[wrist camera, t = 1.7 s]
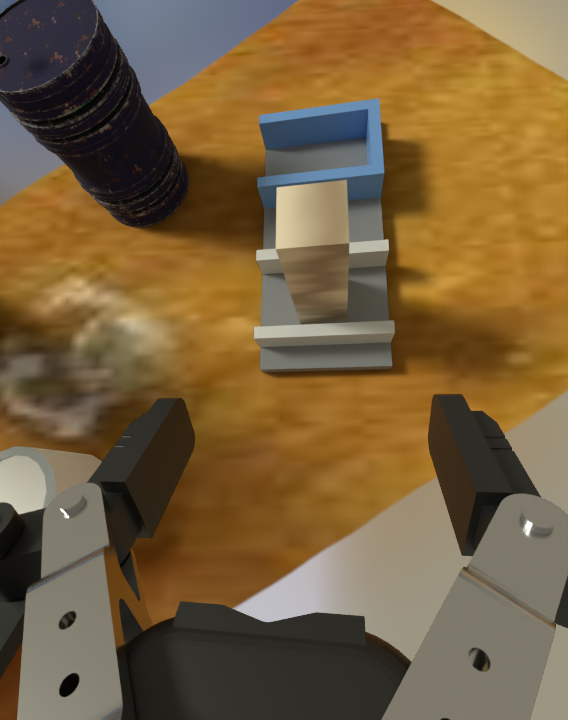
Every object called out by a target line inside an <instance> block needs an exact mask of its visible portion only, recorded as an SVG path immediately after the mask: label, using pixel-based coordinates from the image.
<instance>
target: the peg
mask: <svg viewBox="0 0 568 720" xmlns="http://www.w3.org/2000/svg"><path fill="white" fill-rule="evenodd" d="M276 252H277V255H278V258H279V261H280V264H281V267H282V270H283V273H284V276H285V279H286V282H287V285H288V288H289V291H290V294H291V297H292V300H293V303H294V306H295V309H296V312H297V315H298V318H299V321H300V324H307V323H328V322H347V304H348V273H349V220H348V196H347V180H341V181H332V182H323V183H313V184H304V185H295V186H285V187H277V198H276Z"/></svg>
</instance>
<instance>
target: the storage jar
mask: <svg viewBox="0 0 568 720" xmlns="http://www.w3.org/2000/svg"><path fill="white" fill-rule="evenodd" d="M0 101H1V102H2V103H3V104H4V105H5V106H6V107H7V108H8V109H9V111H10V112H11V114H12V115H13V117H14V118H15V119H17V121H18V122H19V123H20V124H21V125H22V126H23V127H24V128H25V129H26V130H28V131H29V132H30V133H31V134H32V135H33V136H34V138H35V139H36V140H37V141H38V142H39V143H40V144H41V145H43V146H44V147H45V148H46V149H48V150H49V151H51V152H53V153H55V154H56V155H57V156H59V158H60V159H61V160H62V161H63V162H64V163H65V164H66V165H67V166H68V167H69V168H70V169H71V170H72V171H73V173H74V175H75V177H76V179H77V180H78V182H79V183H80V185H81V186H82V187H83V189H85V190H86V191H87V192H88V193H89V194H90V195H91V196H92V197H93V198H94V199H95V200H96V201H97V202H98V203H99V204H100V205H101V206H103V207H104V208H105V209H107V210H108V211H109V212H110V214H111V215H112V216H113V217H114V218H115V219H116V220H117V221H119V222H120V223H122V224H124V225H127V226H131V227H147V226H151V225H154V224H157V223H159V222H161V221H163V220H165V219H166V218H168V217H169V216H170V215H172V214H173V213H174V212H175V211H176V210H177V209H178V207H179V206H180V205H181V204H182V202H183V200H184V198H185V196H186V194H187V191H188V186H189V177H188V172H187V169H186V167H185V166H184V164H183V162H182V161H181V159H180V157H179V155H178V152H177V149H176V147H175V145H174V143H173V142H172V140H171V138H170V136H169V135H168V131H167V130H166V128H165V126H164V125H163V124H162V123H161V121H160V120H159V119H158V118H157V117H156V116H155V115H153V113H152V111H151V110H150V108H149V106H148V104H147V103H146V101H145V99H144V97H143V95H142V94H141V88H140V85H139V82H138V80H137V77H136V74H135V72H134V70H133V69H132V67H131V66H130V65H129V63H128V60H127V58H126V56H125V54H124V53H123V51H122V49H121V47H120V45H119V44H118V42H117V40H116V39H115V38H114V37H113V36H112V34H111V32H110V30H109V29H108V27H107V25H106V24H105V23H104V21H103V18H102V16H101V14H100V12H99V10H98V9H97V7H96V5H95V3H94V2H93V0H17V1H16V2H14V3H13V4H12V5H10V6H9V7H7V8H6V9H5V10H3V12H1V13H0Z"/></svg>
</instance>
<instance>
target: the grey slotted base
mask: <svg viewBox="0 0 568 720" xmlns="http://www.w3.org/2000/svg"><path fill="white" fill-rule="evenodd" d="M259 125H260V129H261V133H262V137H263V141H264V145H265V148H266V162H265V177H258V178H257V188H258V191H259V194H260V197H261V200H262V203H263V207H264V239H263V250H257V254H256V261H257V263H258V265H259V268H260V270H261V272H262V274H263V278H262V317H261V327H254V339H255V341H256V342H257V343H258V344H259V346H260V347H261V355H260V370H261V371H262V372H302V371H340V370H379V369H391V367H392V353H391V341H392V338H393V336H394V334H395V326H394V320H391V321H389V309H388V295H387V280H386V262H387V257H388V253H389V243H388V240H384V236H383V222H382V207H381V193H382V186H383V180H384V160H383V146H382V132H381V119H380V105H379V99H372V100H365V101H357V102H350V103H343V104H336V105H329V106H322V107H315V108H308V109H301V110H293V111H286V112H279V113H272V114H265V115H259ZM341 180H347V196H348V220H349V273H348V304H347V322H328V323H307V324H300V321H299V318H298V315H297V312H296V309H295V306H294V303H293V300H292V297H291V294H290V291H289V288H288V285H287V282H286V279H285V276H284V273H283V270H282V267H281V264H280V261H279V258H278V255H277V252H276V198H277V187H285V186H295V185H304V184H313V183H323V182H332V181H341Z"/></svg>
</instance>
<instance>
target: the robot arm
mask: <svg viewBox="0 0 568 720" xmlns="http://www.w3.org/2000/svg"><path fill="white" fill-rule="evenodd" d="M194 444H195V434H194V430H193V427H192V424H191V421H190V417H189V414H188V411H187V408H186V404H185V402H184V400H183V399H182V398H160V399H158V400H157V401H156V402H155V403H154V405H153V406H152V408H151V409H150V410H149V412H148V413H144V414H142V415H141V416H140V417H139V418H137V419H136V420H135V421H133V422H132V423H131V424H130V425H129V426H128V428H127V429H126V430H125V432H124V433H123V435H122V438H120V439H119V440H118V441H117V443H116V444H115V447H113V448H112V449H111V451H110V452H109V453H108V455H107V456H106V457H105V459H104V460H103V461H102V463H101V464H100V465H99V467H98V468H97V469H96V471H95V472H94V474H93V475H92V476H91V478H90V479H89V480H88V482H87V483H82V484H78V485H75V486H72V487H70V488H68V489H66V490H65V491H63V492H62V493H60V494H59V495H58V496H56V497H55V498H54V499H53V500H52V501H51V502H50V504H49V505H48V506H47V508H43V509H39V510H35V511H31V512H27V513H23V514H18V513H17V511H16V510H15V509H14V507H13V506H12V505H11V504H9V503H5V502H1V503H0V678H1V677H2V675H3V673H4V672H5V670H6V668H7V667H8V665H9V663H10V661H11V660H12V658H13V656H14V655H15V653H16V651H17V650H18V648H19V646H20V644H21V643H22V641H23V644H22V658H21V672H20V686H19V700H18V714H17V720H530V718H531V714H532V711H533V707H534V704H535V700H536V697H537V694H538V690H539V686H540V683H541V680H542V676H543V673H544V669H545V666H546V662H547V659H548V655H549V652H550V648H551V645H552V642H553V638H554V633H555V629H556V624H558V625H561V626H563V627H566V628H568V515H567V514H566V513H565V512H564V511H563V510H562V509H561V508H559V507H558V506H556V505H555V504H553V503H552V502H550V501H548V500H546V499H543V498H541V496H540V495H539V493H538V491H537V490H536V488H535V487H534V485H533V483H532V481H531V479H530V478H529V476H528V474H527V473H526V471H525V469H524V468H523V466H522V464H521V463H520V461H519V459H518V457H517V456H516V454H515V452H514V451H512V447H511V446H510V444H509V442H508V441H507V439H505V435H504V434H503V432H502V430H501V429H500V427H499V425H498V424H497V422H495V421H494V420H493V419H492V418H490V417H489V416H488V415H487V414H485V413H484V412H483V411H471V410H470V408H469V406H468V404H467V402H466V400H465V399H464V397H463V395H462V394H435V395H434V396H433V399H432V406H431V415H430V423H429V432H428V444H429V451H430V455H431V458H432V461H433V464H434V468H435V471H436V474H437V477H438V480H439V484H440V487H441V490H442V493H443V496H444V499H445V503H446V506H447V509H448V512H449V516H450V519H451V522H452V525H453V529H454V531H455V535H456V538H457V541H458V544H459V548H460V551H461V554H462V556H473V557H472V559H471V561H470V563H469V565H468V566H467V567H463V568H462V570H461V571H460V573H459V575H458V576H457V578H456V580H455V582H454V584H453V585H452V587H451V589H450V591H449V593H448V595H447V597H446V599H445V601H444V603H443V605H442V607H441V608H440V610H439V612H438V614H437V616H436V618H435V619H434V621H433V623H432V625H431V627H430V629H429V631H428V633H427V635H426V636H425V638H424V640H423V642H422V644H421V646H420V648H419V650H418V652H417V654H416V655H415V657H414V659H413V661H412V662H411V661H410V660H409V659H408V658H407V657H406V656H404V655H403V654H402V653H401V652H400V651H399V650H397V649H396V648H394V647H393V646H392V645H390V644H389V643H387V642H386V641H384V640H382V639H380V638H379V637H377V636H375V635H372V634H370V633H367V632H365V619H364V616H354V615H341V614H329V613H312V614H307V615H302V616H297V617H293V618H288V619H283V620H279V621H274V622H263V621H260V620H258V619H255V618H253V617H250V616H248V615H246V614H243V613H241V612H239V611H236V610H234V609H231V608H229V607H227V606H224V605H218V604H206V603H194V602H181V601H180V604H179V607H178V610H177V613H176V616H175V617H173V618H170V619H167V620H165V621H162V622H159V623H157V624H155V625H152V623H151V620H150V618H149V615H148V612H147V608H146V604H145V600H144V595H143V590H142V586H141V581H140V576H139V572H138V567H137V562H136V558H135V553H134V550H133V548H132V545H133V544H134V542H135V540H136V538H137V537H139V538H152V537H153V535H154V532H155V530H156V528H157V526H158V524H159V522H160V520H161V518H162V515H163V513H164V511H165V509H166V507H167V505H168V503H169V501H170V498H171V496H172V494H173V492H174V490H175V488H176V486H177V484H178V481H179V479H180V477H181V475H182V473H183V471H184V469H185V467H186V464H187V462H188V460H189V458H190V456H191V454H192V452H193V449H194ZM555 623H556V624H555Z"/></svg>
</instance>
